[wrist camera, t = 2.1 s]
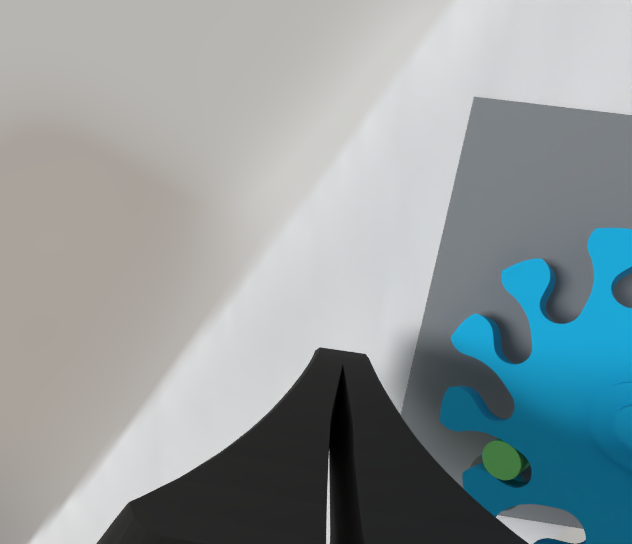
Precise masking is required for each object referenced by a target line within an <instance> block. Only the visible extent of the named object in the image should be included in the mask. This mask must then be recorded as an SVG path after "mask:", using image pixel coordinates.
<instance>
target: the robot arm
mask: <svg viewBox="0 0 632 544" xmlns="http://www.w3.org/2000/svg"><path fill="white" fill-rule="evenodd" d="M329 455H330V544H529V543H527V542H526V541H524V540H523V539H522V538H520V537H519V536H518V535H516V534H515V533H514V532H513V531H511V530H510V529H509V528H508V527H507V526H505V525H504V524H503V523H502V522H501V521H499V520H498V519H497V518H496V517H495V516H493V515H492V514H491V513H490V512H489V511H487V510H486V509H485V508H484V507H483V506H482V505H481V504H480V503H478V502H477V501H476V500H475V499H474V498H473V497H472V496H471V495H470V494H468V493H467V492H466V491H465V490H464V489H463V488H462V487H461V486H460V485H459V484H458V483H457V482H456V481H455V480H454V479H453V478H452V477H451V476H450V475H449V474H448V473H447V472H446V471H445V470H444V469H443V468H442V467H441V466H440V465H439V463H438V462H437V461H436V460H435V459H434V458H433V457H432V456H431V454H430V453H429V452H428V451H427V450H426V449H425V447H424V446H423V445H422V444H421V443H420V441H419V440H418V439H417V438H416V436H415V435H414V434H413V432H412V431H411V430H410V428H409V427H408V425H407V424H406V423H405V421H404V420H403V418H402V417H401V415H400V414H399V412H398V411H397V409H396V408H395V406H394V404H393V403H392V401H391V400H390V398H389V396H388V395H387V393H386V391H385V390H384V388H383V386H382V384H381V382H380V381H379V379H378V377H377V375H376V373H375V371H374V369H373V367H372V365H371V362H370V360H369V358H368V357H367V355H366V354H361V353H354V352H348V351H341V350H334V349H327V348H319V349H317V350H315V353H314V355H313V357H312V359H311V361H310V363H309V364H308V366H307V367H306V369H305V370H304V372H303V373H302V375H301V376H300V377H299V378H298V380H297V381H296V382H295V384H294V385H293V386H292V388H291V389H290V390H289V391H288V392H287V393H286V394H285V396H284V397H283V398H282V399H281V400H280V401H279V402H278V403H277V404H276V405H275V407H274V408H273V409H272V410H271V411H270V412H269V413H268V414H267V415H266V416H264V417H263V418H262V419H261V420H260V421H259V422H258V423H257V424H256V425H255V426H253V427H252V428H251V429H250V430H249V431H248V432H246V433H245V434H244V435H242V436H241V437H240V438H239V439H237V440H236V441H235V442H234V443H232V444H231V445H230V446H228V447H227V448H225V449H224V450H223V451H221V452H220V453H218V454H217V455H215V456H214V457H212V458H211V459H209V460H207V461H206V462H204V463H203V464H201V465H199V466H198V467H196V468H195V469H193V470H192V471H190V472H188V473H187V474H185V475H183V476H181V477H180V478H178V479H176V480H174V481H172V482H170V483H168V484H166V485H164V486H162V487H160V488H158V489H156V490H154V491H152V492H150V493H148V494H146V495H144V496H142V497H140V498H137V499H135V500H133V501H131V502H129V503H128V504H127V505H126V506H125V508H124V509H123V510H122V511H121V513H120V514H119V515H118V516H117V518H116V519H115V520H114V521H113V523H112V524H111V525H110V527H109V528H108V529H107V531H106V532H105V533H104V535H103V536H102V537H101V539H100V540H99V541H98V542H97V544H326V512H327V480H328V457H329Z"/></svg>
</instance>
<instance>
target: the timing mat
mask: <svg viewBox="0 0 632 544" xmlns="http://www.w3.org/2000/svg"><path fill="white" fill-rule="evenodd" d="M596 228H627V229H632V115H624V114H616V113H607V112H599V111H590V110H582V109H573V108H565V107H556V106H548V105H539V104H531V103H522V102H514V101H505V100H497V99H488V98H480V97H474V100H473V104H472V108H471V113H470V117H469V121H468V126H467V130H466V134H465V139H464V143H463V147H462V152H461V156H460V160H459V165H458V169H457V173H456V178H455V182H454V186H453V191H452V195H451V199H450V204H449V208H448V212H447V217H446V221H445V225H444V230H443V234H442V238H441V243H440V247H439V251H438V256H437V260H436V264H435V268H434V273H433V277H432V281H431V286H430V290H429V294H428V299H427V303H426V307H425V312H424V316H423V320H422V325H421V329H420V333H419V338H418V342H417V346H416V351H415V355H414V359H413V364H412V368H411V372H410V377H409V381H408V385H407V390H406V394H405V398H404V403H403V407H402V411H401V417H402V418H403V420H404V421H405V423H406V424H407V425H408V427H409V428H410V430H411V431H412V432H413V434H414V435H415V436H416V438H417V439H418V440H419V441H420V443H421V444H422V445H423V446H424V447H425V449H426V450H427V451H428V452H429V453H430V454H431V456H432V457H433V458H434V459H435V460H436V461H437V462H438V463H439V465H440V466H441V467H442V468H443V469H444V470H445V471H446V472H447V473H448V474H449V475H450V476H451V477H452V478H453V479H454V480H455V481H456V482H457V483H458V484H459V485H460V486H461V487H462V488H463V482H462V473H463V472H464V471H466V470H467V469H469V468H470V466H471V464H472V462H473V461H474V460H475V459H476V458H477V457H478V456H480V455H482V453H483V450H484V447H485V446H486V445H487V444H488V443H490V442H492V441H494V440H496V439H498V438H497V437H495V436H492V435H490V434H488V433H483V432H479V431H460V432H457V431H452V430H450V429H448V428H446V427H445V426H443V425H442V423H441V422H440V421H439V420H440V410H441V404H442V400H443V397H444V394H445V392H446V390H447V389H448V387H454V386H468V387H471V388H473V389H474V390H476V391H477V392H478V393H479V394H480V396H481V397H482V398H483V400H484V402H485V403H486V405H487V407H488V408H489V410H490V411H491V412H492V413H493V414H494V415H495V416H497V417H499V418H502V419H509V418H510V417H511V415H512V414H513V412H514V400H513V398H512V396H511V394H510V392H509V391H508V389H507V388H506V386H505V384H504V383H503V382H502V380H501V379H500V378H499V376H498V375H497V374H496V373H495V372H494V371H493V370H492V369H491V368H490V367H489V366H487V365H486V364H484V363H483V362H482V361H480V360H478V359H476V358H474V357H471V356H468V355H465V354H463V353H461V352H459V351H458V350H457V349H456V348H455V347H454V345H453V344H452V341H451V336H452V335H453V333H454V332H455V331H456V329H457V328H458V327H459V326H460V324H461V323H462V322H463V321H464V320H466V319H467V318H468V317H469V316H471V315H473V314H475V313H476V314H479V315H483V316H486V317H489V318H490V319H492V320H493V321H494V322H495V323H496V324H497V325H498V327H499V329H500V333H501V343H502V351H503V353H504V355H505V357H506V358H507V359H508V360H509V361H511V362H513V363H515V364H521V363H523V362H525V361H526V360H527V359H528V358H529V357H530V355H531V352H532V339H531V330H530V324H529V321H528V318H527V316H526V313H525V311H524V310H523V308H522V306H521V305H520V303H519V302H518V301H517V300H516V299H515V298H514V297H513V296H512V295H511V294H510V293H509V292H507V290H506V289H505V288H504V286H503V284H502V280H501V274H502V270H504V269H506V268H508V267H510V266H512V265H514V264H517V263H519V262H522V261H526V260H530V259H538V258H541V259H542V260H544V261H545V262H546V263H547V264H548V265H549V266H550V267H551V268H552V270H553V271H554V274H555V278H556V282H555V286H554V289H553V291H552V293H551V295H550V297H549V298H548V300H547V303H546V313H547V315H548V317H549V318H550V319H551V320H552V321H553V322H554V323H558V324H566V323H570V322H572V321H574V320H575V319H576V318H578V316H579V315H580V314H581V312H582V310H583V308H584V306H585V305H586V303H587V301H588V299H589V296H590V294H591V292H592V287H593V283H594V268H593V263H592V259H591V257H590V255H589V252H588V247H587V244H588V239H589V237H590V235H591V233H592V232H593V231H594V230H595V229H596ZM614 298H615V300H616V301H617V302H618V303H620V304H621V305H623V306H625V307H627V308H632V273H630V274H628V275H627V276H625V277H623V278H622V279H621V280H619V281H618V282H617V284H616V285H615V288H614ZM463 489H464V488H463ZM498 515H501V516H507V517H514V518H520V519H526V520H532V521H539V522H545V523H551V524H557V525H564V526H570V527H576V528H582V529H584V528H583V526H582V525H581V523H580V522H579V521H578V519H577V518H576V517H575V516H573V515H572V514H571V513H569V512H567V511H565V510H562V509H558V508H554V507H549V506H544V505H536V504H521V505H517V506H516V507H514V508H513V509H510V510H507V511H502V512H501V513H500V514H498Z"/></svg>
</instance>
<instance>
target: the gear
mask: <svg viewBox="0 0 632 544" xmlns="http://www.w3.org/2000/svg"><path fill="white" fill-rule="evenodd" d="M587 247H588V252H589V255H590V257H591V259H592V263H593V268H594V283H593V287H592V292H591V294H590V296H589V299H588V301H587V303H586V305H585V306H584V308H583V310H582V312H581V314H580V315H579V316H578V318H576V319H575V320H574V321H572V322H570V323H566V324H558V323H554V322H553V321H552V320H551V319H550V318H549V317H548V315H547V313H546V303H547V300H548V298H549V297H550V295H551V293H552V291H553V289H554V286H555V282H556V278H555V274H554V271H553V270H552V268H551V267H550V266H549V265H548V264H547V263H546V262H545V261H544V260H542V259H541V258H538V259H530V260H526V261H522V262H519V263H517V264H514V265H512V266H510V267H508V268H506V269H504V270H502V274H501V280H502V284H503V286H504V288H505V289H506V290H507V292H509V293H510V294H511V295H512V296H513V297H514V298H515V299H516V300H517V301H518V302H519V303H520V305H521V306H522V308H523V310H524V311H525V313H526V316H527V318H528V321H529V324H530V330H531V339H532V352H531V355H530V357H529V358H528V359H527V360H526V361H525V362H523V363H521V364H515V363H513V362H511V361H509V360H508V359H507V358H506V357H505V355H504V353H503V351H502V343H501V333H500V329H499V327H498V325H497V324H496V323H495V322H494V321H493V320H492V319H490V318H489V317H486V316H483V315H479V314H476V313H475V314H473V315H471V316H469V317H468V318H467V319H466V320H464V321H463V322H462V323H461V324H460V326H459V327H458V328H457V329H456V331H455V332H454V333H453V335H452V336H451V341H452V344H453V345H454V347H455V348H456V349H457V350H458V351H459V352H461V353H463V354H465V355H468V356H471V357H474V358H476V359H478V360H480V361H482V362H483V363H484V364H486V365H487V366H489V367H490V368H491V369H492V370H493V371H494V372H495V373H496V374H497V375H498V376H499V378H500V379H501V380H502V382H503V383H504V384H505V386H506V388H507V389H508V391H509V392H510V394H511V396H512V398H513V400H514V412H513V414H512V415H511V417H510V418H509V419H502V418H499V417H497V416H495V415H494V414H493V413H492V412H491V411H490V410H489V408H488V407H487V405H486V403H485V402H484V400H483V398H482V397H481V396H480V394H479V393H478V392H477V391H476V390H474V389H473V388H471V387H468V386H454V387H448V389H447V390H446V392H445V394H444V397H443V400H442V404H441V410H440V420H439V421H440V422H441V423H442V425H443V426H445V427H446V428H448V429H450V430H452V431H457V432H460V431H479V432H483V433H488V434H490V435H492V436H495V437H497V438H498V439H496V440H494V441H492V442H490V443H488V444H487V445H486V446H485V447H484V450H483V453H482V455H480V456H478V457H477V458H476V459H475V460H474V461H473V462H472V464H471V466H470V468H469V469H467V470H466V471H464V472H463V473H462V482H463V488H464V490H465V491H466V492H467V493H468V494H470V495H471V496H472V497H473V498H474V499H475V500H476V501H477V502H478V503H480V504H481V505H482V506H483V507H484V508H485V509H486V510H487V511H489V512H490V513H491V514H492V515H493V516H495V517H496V516H497V515H498V514H500V513H501V512H502V511H507V510H510V509H513V508H514V507H516V506H517V505H521V504H536V505H544V506H549V507H554V508H558V509H562V510H565V511H567V512H569V513H571V514H572V515H573V516H575V517H576V518H577V519H578V521H579V522H580V523H581V525H582V526H583V528H584V531H585V534H586V540H585V541H584V542H581V543H578V544H632V308H627V307H625V306H623V305H621V304H620V303H618V302H617V301H616V300H615V298H614V288H615V285H616V284H617V282H618V281H619V280H621V279H622V278H623V277H625V276H627V275H628V274H630V273H632V229H627V228H596V229H595V230H594V231H593V232H592V233H591V235H590V237H589V239H588V244H587ZM534 544H571V543H567V542H563V541H559V540H555V539H549V538H545V539H540V540H538V541H536V542H535V543H534Z"/></svg>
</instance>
